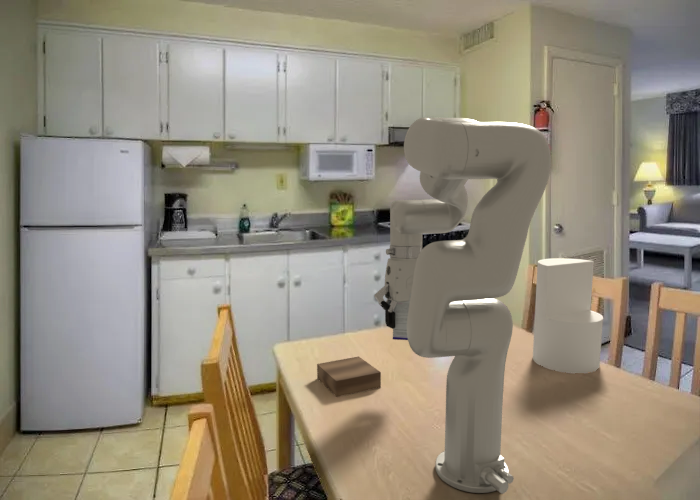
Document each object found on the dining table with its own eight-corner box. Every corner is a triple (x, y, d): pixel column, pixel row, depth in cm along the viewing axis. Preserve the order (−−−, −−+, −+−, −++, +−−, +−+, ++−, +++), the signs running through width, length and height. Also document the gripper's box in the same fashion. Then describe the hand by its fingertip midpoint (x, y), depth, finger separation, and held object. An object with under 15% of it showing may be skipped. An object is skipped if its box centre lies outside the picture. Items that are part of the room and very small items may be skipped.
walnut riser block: (380, 387, 123) (380, 372, 122) (336, 397, 118) (336, 381, 117) (358, 370, 134) (358, 356, 133) (317, 378, 128) (317, 363, 128)
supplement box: (417, 341, 116) (417, 293, 115) (392, 339, 118) (392, 292, 116) (418, 333, 122) (419, 288, 121) (394, 332, 123) (394, 287, 122)
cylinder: (519, 356, 144) (524, 260, 140) (563, 347, 151) (568, 256, 147) (568, 378, 128) (574, 271, 124) (614, 367, 135) (622, 266, 131)
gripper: (381, 257, 110) (382, 333, 112) (445, 251, 118) (444, 324, 120) (366, 253, 117) (366, 325, 119) (427, 248, 124) (427, 317, 127)
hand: (405, 324), depth 119 cm, fingers closed on supplement box, 7 cm apart
